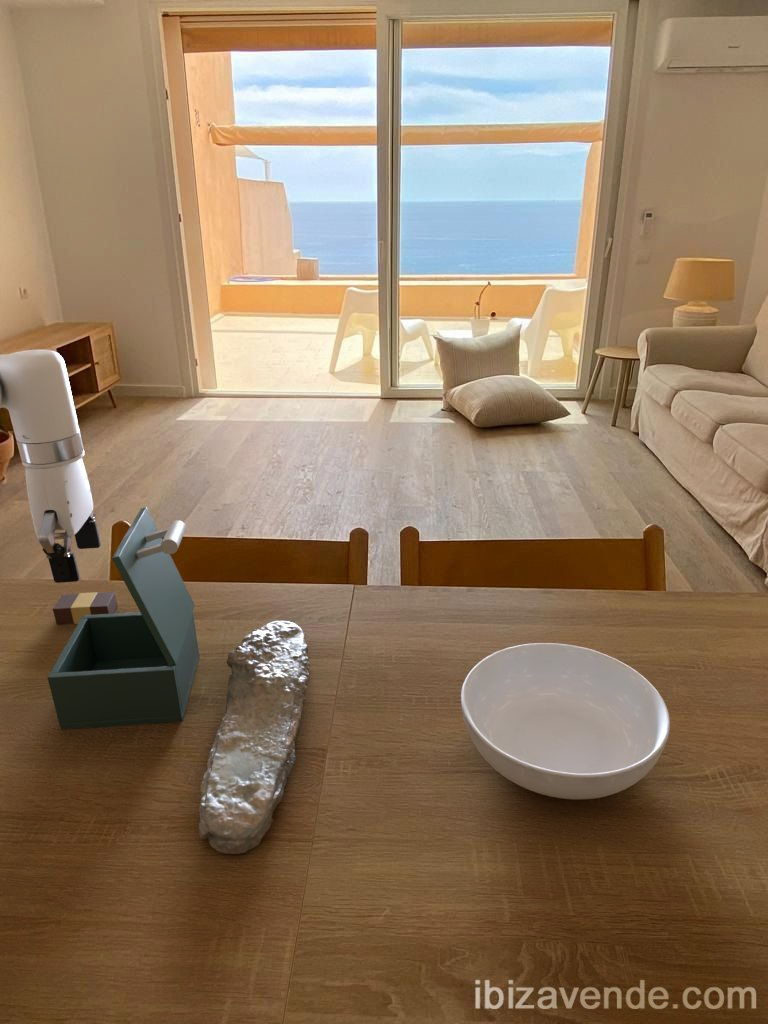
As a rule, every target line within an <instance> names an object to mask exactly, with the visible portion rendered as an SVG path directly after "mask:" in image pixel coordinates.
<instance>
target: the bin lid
mask: <svg viewBox="0 0 768 1024" xmlns="http://www.w3.org/2000/svg"><path fill="white" fill-rule="evenodd" d="M186 529H187V525H186V524H185V522H183V521H182V520H179V519H174V520H172V521H171V523H170V524H169V526H168V527H166V528H163V529H160V530H159V529H158V527H157V525H156V523H155V521H154V519H153V516H152V515H151V513H150V511H149V509H148V507H147V506H145V507H141V508H140V509H139V511H138V513H137V514H136V515H135V518H134V519H133V522H131V525H130V526H129V528H128V530H127V532H125V535H124V536H123V538H122V540H121V542H120V544H119V545H118V547H117V548H116V551H115V552H114V554H113V556H112V557H111V560H112V562H113V563H114V565H115V567H116V570H117V572H118V573H119V575H120V576H121V577H120V578H122V581H123V583H124V584H125V586H126V588H127V590H128V592H129V593H130V595H131V598H132V599H133V601H134V603H135V605H136V606H137V608H138V610H139V612H141V614H142V616H143V618H144V620H145V622H146V623H147V625H148V627H149V629H150V631H151V633H152V635H153V637H154V638H155V640H156V642H157V644H158V646H159V648H160V650H161V652H162V653H163V655H164V657H165V659H166V661H167V663H168V665H169V666H170V667H172V666H175V665H176V664H177V661H178V658H179V655H180V652H181V648H182V645H183V642H184V639H185V635H186V632H187V629H188V626H189V622H190V619H191V616H192V613H193V614H194V609H195V607H196V604H195V603H194V600H193V598H192V596H191V594H190V592H189V589H188V588H187V586H186V584H185V582H184V579H183V578H182V576H181V574H180V572H179V570H178V568H177V566H176V564H175V562H174V559H173V558H172V556H171V555H173V554H175V553H176V552H177V551H178V550H179V547H180V545H181V542H182V540H183V537H184V535H185V532H186Z"/></svg>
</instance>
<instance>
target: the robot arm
mask: <svg viewBox="0 0 768 1024" xmlns="http://www.w3.org/2000/svg"><path fill="white" fill-rule="evenodd" d="M2 408H3V409H6V410H7V411H8V413H9V414H8V415H9V417H10V421H11V425H12V429H13V433H14V436H15V439H16V444H17V448H18V452H19V455H20V460H21V464H22V465H23V466H24V467H25V469H24V470H25V471H24V474H25V475H24V476H25V485H26V486H25V487H26V494H27V499H28V500H27V501H28V505H29V510H30V515H31V519H32V524H33V528H34V529H33V530H34V533H35V536H36V538H37V539H38V542H39V544H40V546H41V547H42V551H43V553H44V555H45V557H46V559H48V561H49V562H48V563H49V566H50V570H51V575H52V577H53V579H52V580H53V582H54V583H56V584H60V583H61V584H63V583H76V582H78V581H79V580H80V579H81V577H80V573H79V572H80V571H79V568H78V564H77V563H78V562H77V560H76V555H75V553H73V552H72V537H74V539H75V543H76V547H77V549H79V550H85V549H86V550H87V549H88V550H89V549H99V548H100V547H101V546H102V543H101V539H100V533H99V530H98V524H97V521H96V512H95V511H93V510H94V501H93V495H92V490H91V485H90V482H89V478H88V474H87V471H86V468H85V464H84V460H83V458H84V457H85V450H84V445H83V441H82V435H81V431H80V427H79V422H78V417H77V413H76V408H75V404H74V399H73V395H72V390H71V385H70V381H69V376H68V371H67V367H66V363H65V360H64V358H63V357H62V355H60V353H59V352H57V351H56V350H55V351H54V350H52V349H28V350H21V351H14V352H11V353H8V354H7V353H5V354H3V353H0V409H2ZM56 531H65V532H56ZM56 540H63V545H61V544H60V543H59V542H56Z"/></svg>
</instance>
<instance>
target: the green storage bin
mask: <svg viewBox="0 0 768 1024" xmlns="http://www.w3.org/2000/svg"><path fill="white" fill-rule="evenodd" d="M199 660H200V650H199V643H198V637H197V631H196V624H195V617H194V612H193V613H192V616H191V619H190V622H189V626H188V629H187V632H186V635H185V639H184V642H183V645H182V648H181V652H180V655H179V658H178V661H177V664H176V665H175V666H172V667H170V666H169V665H168V663H167V661H166V659H165V657H164V655H163V653H162V652H161V650H160V648H159V646H158V644H157V642H156V640H155V638H154V637H153V635H152V633H151V631H150V629H149V627H148V625H147V623H146V622H145V620H144V618H143V616H142V614H141V612H140V611H138V612H120V613H114V614H99V615H83V616H82V618H81V620H80V621H79V623H78V624H76V626H75V628H74V630H73V631H72V634H71V635H70V637H69V638H68V640H67V642H66V644H65V646H64V648H63V649H62V651H61V653H60V655H59V656H58V658H57V660H56V661H55V663H54V665H53V667H52V668H51V670H50V671H49V674H48V676H47V682H48V685H49V691H50V693H51V697H52V701H53V705H54V708H55V714H56V716H57V721H58V723H59V724H58V725H59V728H60V730H78V729H79V730H80V729H92V728H105V727H107V728H108V727H121V726H135V725H136V726H137V725H151V724H153V725H154V724H166V723H167V724H168V723H181V722H183V720H184V717H185V713H186V710H187V705H188V701H189V697H190V693H191V690H192V687H193V683H194V679H195V676H196V671H197V668H198V663H199Z"/></svg>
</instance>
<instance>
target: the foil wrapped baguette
mask: <svg viewBox="0 0 768 1024" xmlns="http://www.w3.org/2000/svg"><path fill="white" fill-rule="evenodd" d="M308 653H309V645H308V644H307V643H306V633H305V632H304V631H303V629H302V628H301V627H300V626H299V625H298V624H297V623H294V622H292V621H288V620H287V621H286V620H275V621H271V622H268V623H267V624H265V625H263V626H262V627H259V629H252V631H251V632H250V633H249V634H247V635H245V636H244V637H243V639H242V641H241V645H237V646H236V647H235V650H231V651H229V653H228V656H227V659H226V664H227V667H229V668H231V669H230V671H231V673H230V674H229V678H228V682H227V686H228V688H227V692H226V693H227V694H226V706H225V714H224V717H222V718H221V719H220V726H219V727H218V728H217V731H216V734H215V738H214V740H213V743H212V746H211V748H210V751H209V753H208V757H207V758H208V760H207V762H206V771H205V773H204V774H203V777H202V779H201V783H200V785H199V793H200V795H201V796H200V804H199V806H198V809H199V814H198V816H199V819H200V821H199V823H198V836H199V838H200V839H208V844H209V846H210V847H211V848H212V849H214V850H215V851H217V852H219V853H222V854H226V855H240V854H245V853H246V852H248V851H250V850H252V849H254V848H256V847H257V846H259V845H260V844H261V841H262V840H263V838H264V837H265V835H266V834H267V832H268V831H269V830H270V828H271V826H272V823H273V822H274V819H273V814H274V812H275V810H276V808H277V806H278V805H279V804H280V803H281V802H282V800H283V797H284V795H285V786H286V785H287V784H288V778H289V777H288V776H289V775H290V774H291V771H292V770H293V767H294V766H295V764H296V751H295V749H296V745H295V743H296V740H297V739H296V738H297V735H298V733H299V731H300V728H301V724H302V722H301V721H302V714H303V709H304V704H303V702H305V701H306V697H305V695H306V691H307V688H308V686H309V682H310V676H311V675H310V673H309V670H310V666H311V664H310V658H309V657H308Z"/></svg>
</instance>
